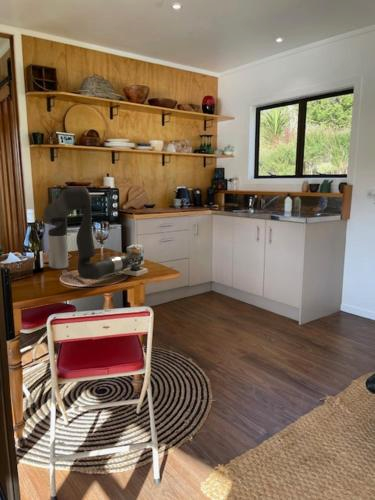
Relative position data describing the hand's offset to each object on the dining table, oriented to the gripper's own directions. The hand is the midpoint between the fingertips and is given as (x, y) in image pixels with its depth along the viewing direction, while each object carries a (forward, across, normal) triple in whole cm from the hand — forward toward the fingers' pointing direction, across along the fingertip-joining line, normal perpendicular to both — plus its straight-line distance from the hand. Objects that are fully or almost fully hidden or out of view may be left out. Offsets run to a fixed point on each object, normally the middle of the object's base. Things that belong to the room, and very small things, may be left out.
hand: (138, 257), depth 191 cm
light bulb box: (+11, +11, +8) cm, 18 cm away
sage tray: (-15, +13, +8) cm, 21 cm away
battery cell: (-3, 0, +8) cm, 8 cm away
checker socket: (-3, 0, +8) cm, 8 cm away
